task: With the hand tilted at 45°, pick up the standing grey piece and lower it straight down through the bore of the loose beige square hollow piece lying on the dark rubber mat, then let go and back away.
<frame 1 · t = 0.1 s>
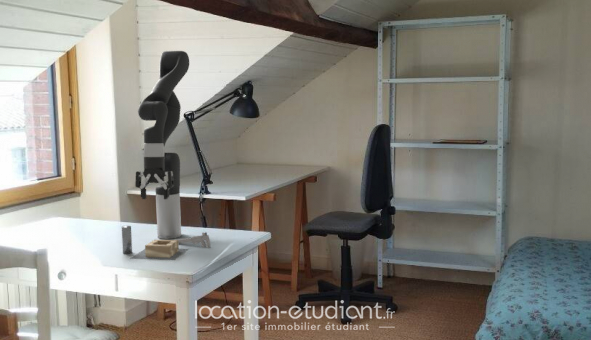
hand: (155, 199, 242), 17 cm above the table, tool pointing down, fingers open, 8 cm apart
beige square hollow piece: (162, 253, 229), resting on mat
grey piece: (127, 254, 231), on the table
mat: (160, 254, 230), on the table
caliper: (186, 247, 242), on the table
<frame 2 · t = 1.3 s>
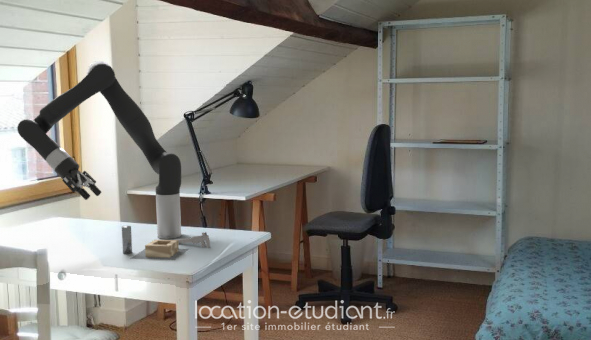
hand: (94, 196, 230), 21 cm above the table, tool tilted 45°, fingers open, 8 cm apart
nothing on the table moved.
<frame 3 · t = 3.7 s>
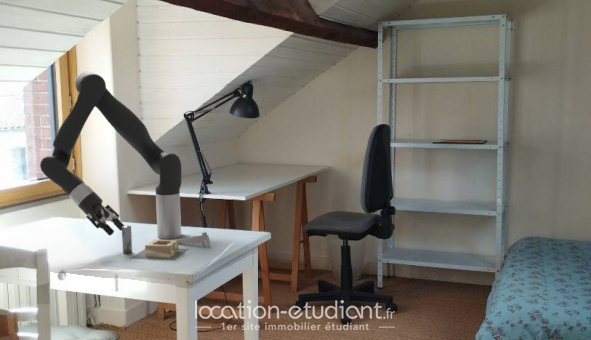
hand: (117, 231, 231), 8 cm above the table, tool tilted 45°, fingers open, 8 cm apart
nothing on the table moved.
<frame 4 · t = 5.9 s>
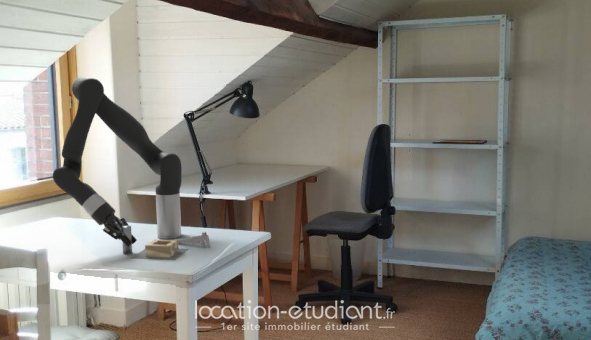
hand: (132, 243, 230), 4 cm above the table, tool tilted 45°, fingers closed on grey piece, 3 cm apart
grey piece: (127, 254, 231), on the table, touching gripper
everything else where it was.
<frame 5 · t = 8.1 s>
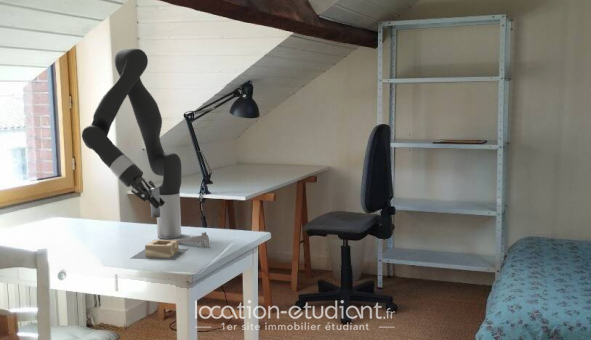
hand: (160, 205, 227), 18 cm above the table, tool tilted 45°, fingers closed on grey piece, 3 cm apart
grey piece: (155, 216, 227), point 14 cm above the table, touching gripper
everything else where it was.
when the fingers open (6 cm above the table, at t = 10.8 s): grey piece drops 2 cm, resting on mat.
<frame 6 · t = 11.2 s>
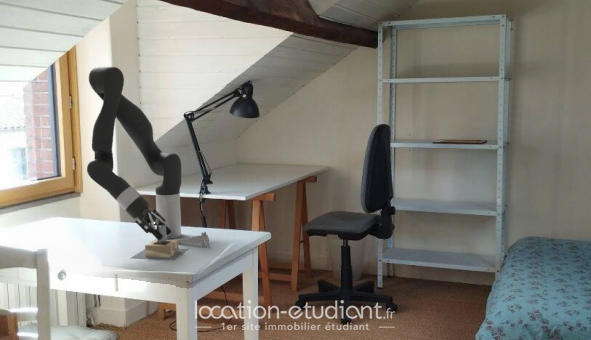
hand: (165, 235, 228), 7 cm above the table, tool tilted 45°, fingers open, 7 cm apart
grey piece: (162, 253, 229), point 1 cm above the table, touching mat
everything else where it was.
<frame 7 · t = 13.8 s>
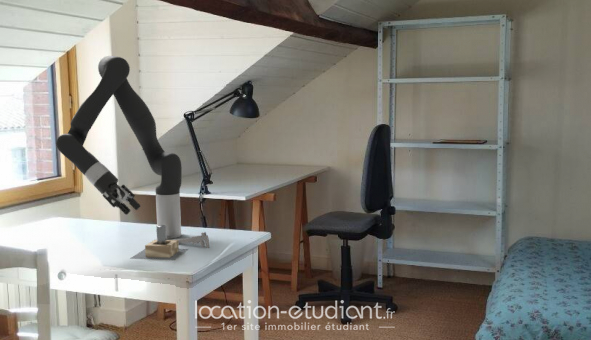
hand: (133, 210, 229), 16 cm above the table, tool tilted 45°, fingers open, 8 cm apart
nothing on the table moved.
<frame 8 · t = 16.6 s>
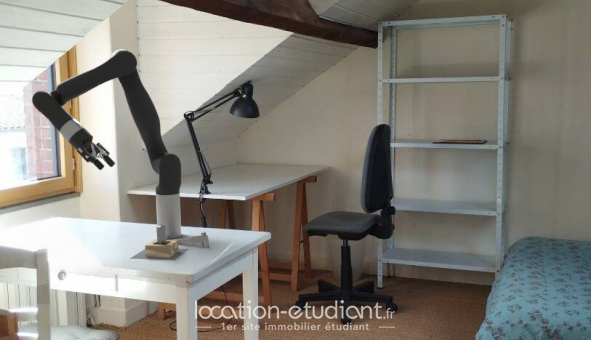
hand: (108, 166, 232), 31 cm above the table, tool tilted 45°, fingers open, 8 cm apart
nothing on the table moved.
at the end: grey piece 0.1 cm from the beige square hollow piece (horizontally); grey piece point 0.5 cm above the table; grey piece tilted 0° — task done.
